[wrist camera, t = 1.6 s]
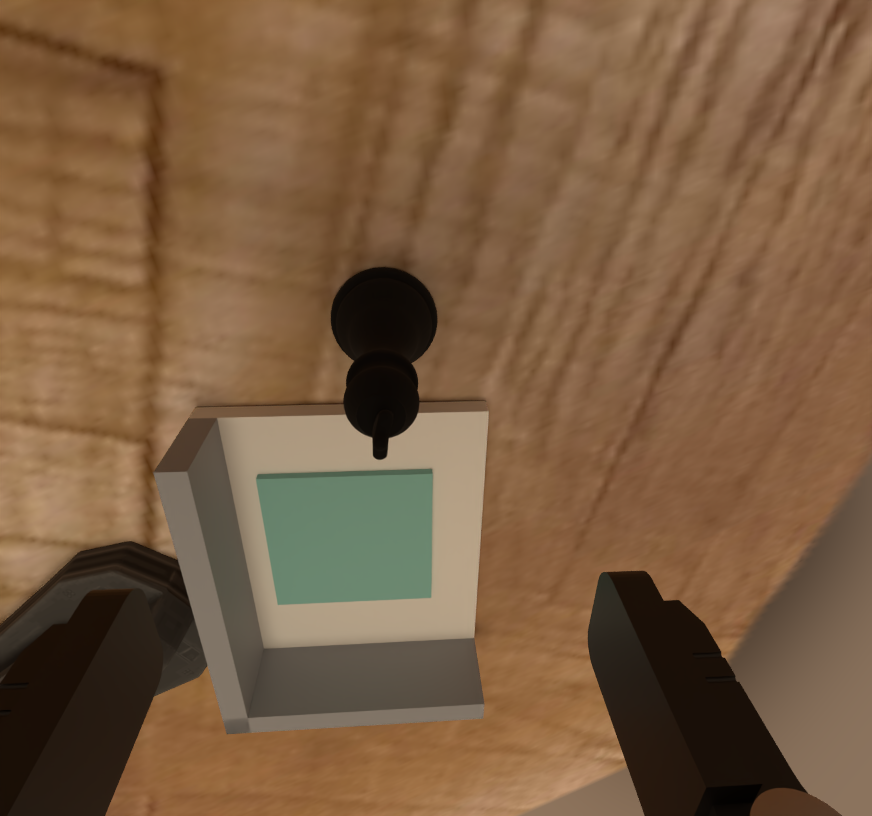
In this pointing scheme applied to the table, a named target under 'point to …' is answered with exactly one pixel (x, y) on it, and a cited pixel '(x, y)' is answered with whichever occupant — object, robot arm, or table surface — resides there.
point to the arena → (338, 621)
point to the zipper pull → (114, 571)
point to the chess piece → (383, 349)
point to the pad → (348, 534)
